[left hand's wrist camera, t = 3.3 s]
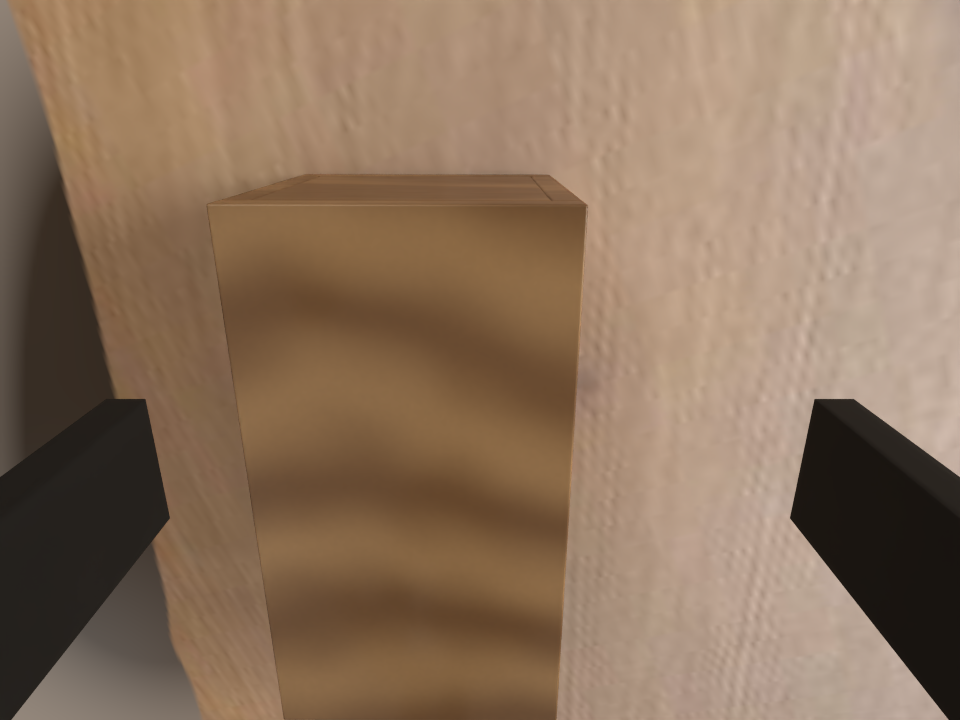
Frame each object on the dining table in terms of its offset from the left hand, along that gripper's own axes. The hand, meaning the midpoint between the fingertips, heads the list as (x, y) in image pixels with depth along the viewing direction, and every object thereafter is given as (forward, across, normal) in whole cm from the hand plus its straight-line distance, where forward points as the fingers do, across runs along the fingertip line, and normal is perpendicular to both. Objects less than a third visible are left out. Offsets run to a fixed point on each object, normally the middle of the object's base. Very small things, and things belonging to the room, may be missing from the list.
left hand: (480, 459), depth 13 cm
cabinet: (+16, -2, -5) cm, 17 cm away
